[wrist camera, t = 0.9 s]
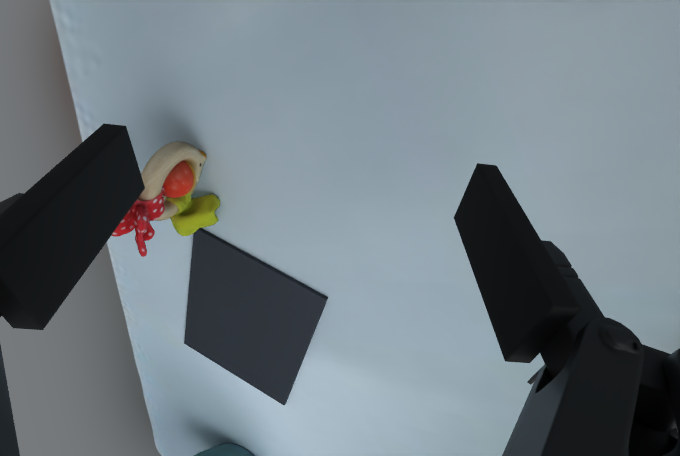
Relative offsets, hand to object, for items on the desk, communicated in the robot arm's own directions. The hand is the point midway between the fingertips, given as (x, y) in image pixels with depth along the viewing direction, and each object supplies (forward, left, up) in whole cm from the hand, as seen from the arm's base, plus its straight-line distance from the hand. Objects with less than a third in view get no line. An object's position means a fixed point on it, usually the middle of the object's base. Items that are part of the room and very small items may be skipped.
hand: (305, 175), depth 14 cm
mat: (+28, -8, -14) cm, 32 cm away
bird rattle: (+12, -16, -14) cm, 24 cm away
